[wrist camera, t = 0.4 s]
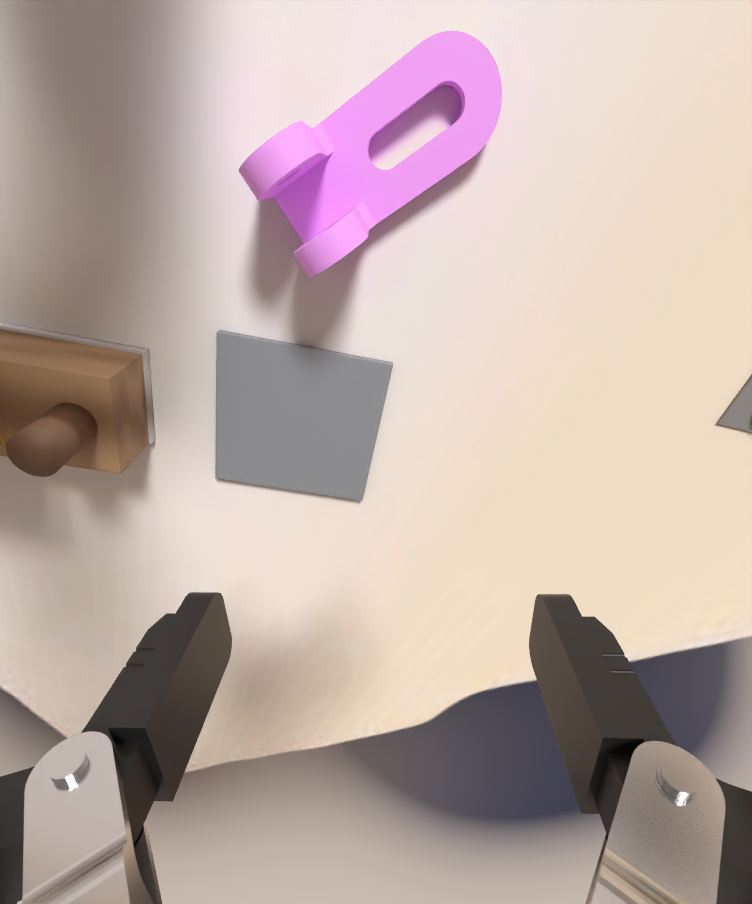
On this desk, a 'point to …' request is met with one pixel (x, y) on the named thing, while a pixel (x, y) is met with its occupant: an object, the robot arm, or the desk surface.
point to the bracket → (347, 142)
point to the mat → (296, 415)
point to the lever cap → (2, 434)
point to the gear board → (740, 409)
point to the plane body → (72, 401)
